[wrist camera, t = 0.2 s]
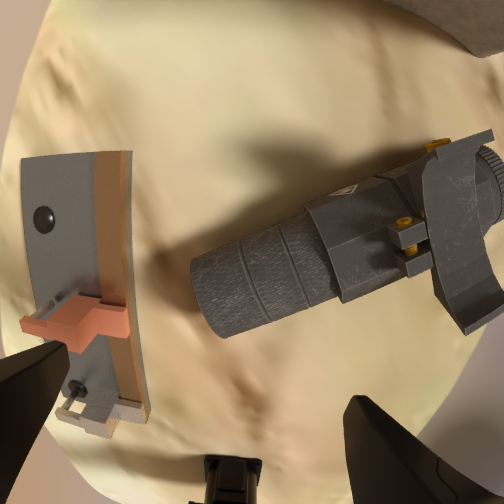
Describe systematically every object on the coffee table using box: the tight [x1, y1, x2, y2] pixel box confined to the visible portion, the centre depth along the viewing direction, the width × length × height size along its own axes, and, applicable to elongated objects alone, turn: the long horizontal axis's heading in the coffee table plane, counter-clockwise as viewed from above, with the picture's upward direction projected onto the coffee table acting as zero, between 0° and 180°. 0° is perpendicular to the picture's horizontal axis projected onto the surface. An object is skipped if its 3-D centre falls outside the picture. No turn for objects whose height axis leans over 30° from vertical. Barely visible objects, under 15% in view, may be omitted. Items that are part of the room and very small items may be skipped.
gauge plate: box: [21, 151, 151, 439], centre depth 21 cm, size 24×10×6 cm, turn 176°
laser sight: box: [190, 129, 504, 339], centre depth 17 cm, size 10×22×10 cm, turn 113°
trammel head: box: [19, 295, 130, 354], centre depth 20 cm, size 2×8×4 cm, turn 86°
